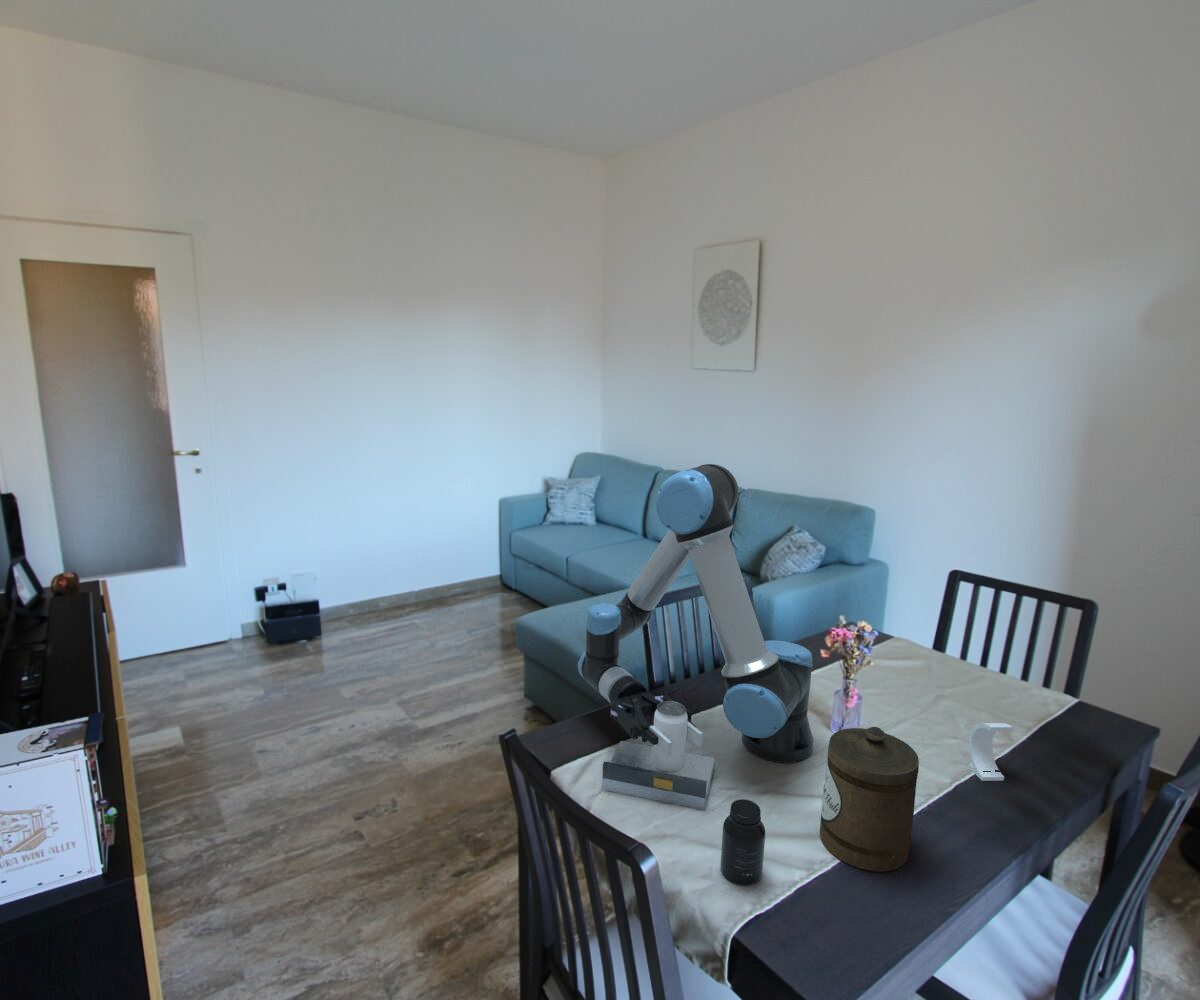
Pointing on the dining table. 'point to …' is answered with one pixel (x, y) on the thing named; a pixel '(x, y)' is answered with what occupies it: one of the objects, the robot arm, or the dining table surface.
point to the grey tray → (658, 777)
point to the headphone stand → (985, 750)
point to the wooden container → (869, 798)
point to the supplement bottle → (743, 843)
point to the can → (671, 735)
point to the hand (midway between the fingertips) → (685, 744)
